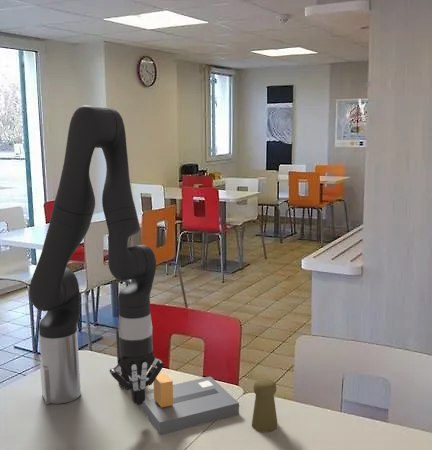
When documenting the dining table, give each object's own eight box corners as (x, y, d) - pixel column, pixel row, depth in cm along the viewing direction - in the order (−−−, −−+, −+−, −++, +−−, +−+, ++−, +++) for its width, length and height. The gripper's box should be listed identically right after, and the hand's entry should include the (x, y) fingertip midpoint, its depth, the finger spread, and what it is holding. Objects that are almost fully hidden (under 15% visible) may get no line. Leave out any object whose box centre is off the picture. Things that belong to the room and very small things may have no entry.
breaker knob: (161, 407, 133) (160, 383, 132) (154, 398, 137) (153, 375, 136) (173, 404, 134) (172, 380, 133) (165, 395, 138) (165, 372, 137)
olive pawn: (276, 433, 127) (276, 387, 126) (249, 430, 129) (249, 385, 127) (279, 419, 133) (279, 375, 131) (253, 417, 135) (253, 373, 133)
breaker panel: (160, 434, 127) (159, 422, 127) (137, 403, 142) (137, 392, 141) (238, 414, 136) (238, 402, 135) (210, 387, 150) (210, 376, 150)
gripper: (157, 322, 136) (159, 390, 139) (102, 332, 130) (106, 402, 133) (168, 333, 129) (170, 404, 132) (111, 343, 124) (115, 417, 127)
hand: (138, 403), depth 133 cm, fingers closed
